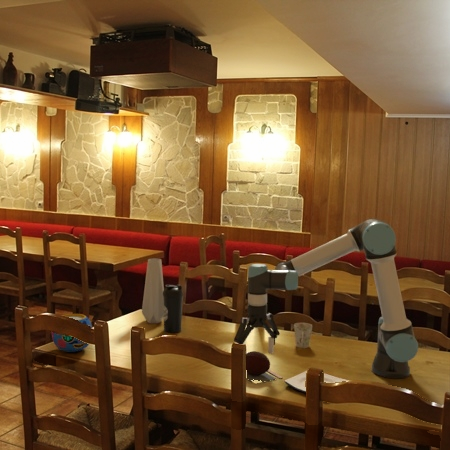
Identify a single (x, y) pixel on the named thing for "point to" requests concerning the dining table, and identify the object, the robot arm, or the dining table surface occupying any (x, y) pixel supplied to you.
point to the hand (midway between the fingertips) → (257, 356)
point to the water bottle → (173, 308)
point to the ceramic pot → (70, 342)
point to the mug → (302, 334)
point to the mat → (260, 377)
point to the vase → (153, 292)
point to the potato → (257, 363)
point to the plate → (300, 379)
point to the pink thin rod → (275, 374)
